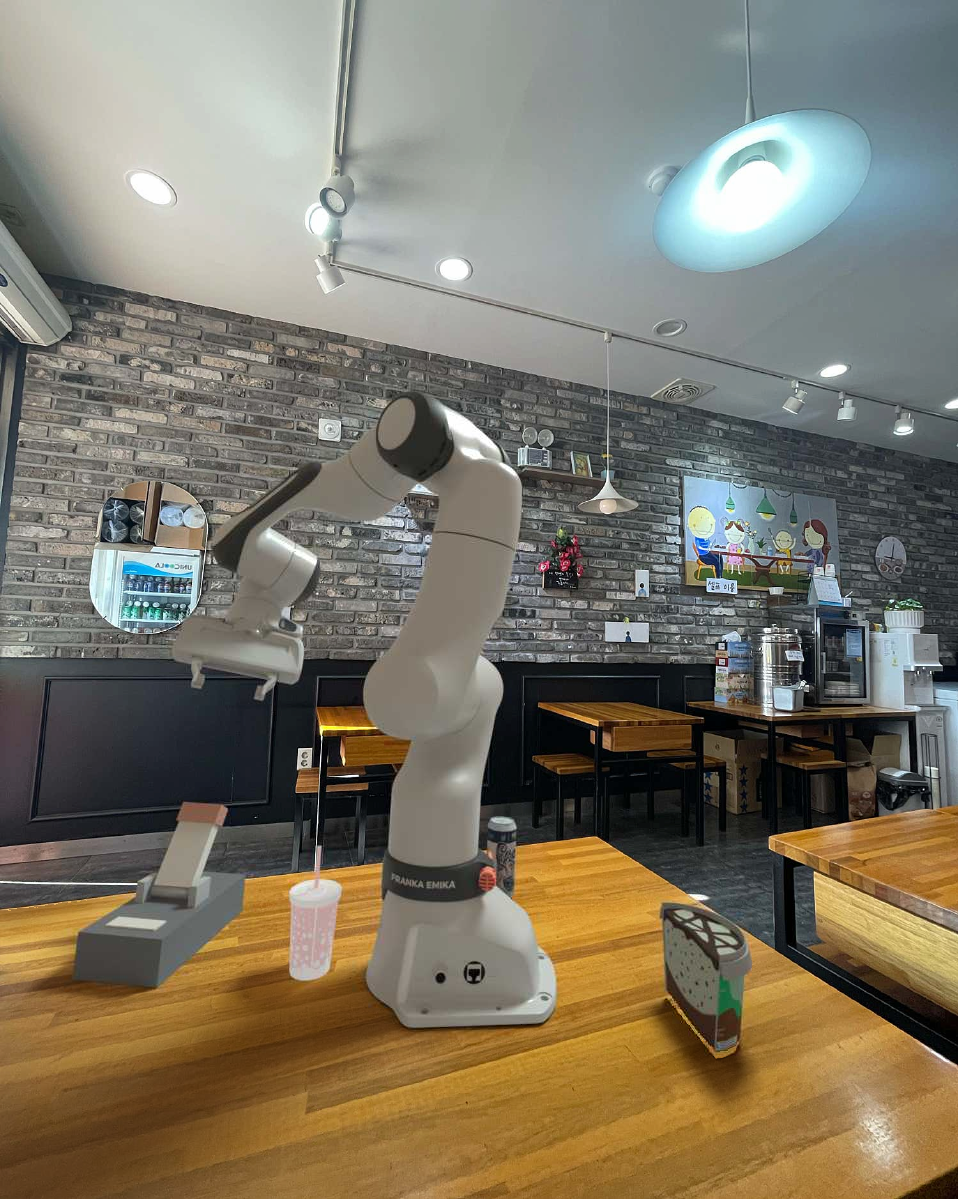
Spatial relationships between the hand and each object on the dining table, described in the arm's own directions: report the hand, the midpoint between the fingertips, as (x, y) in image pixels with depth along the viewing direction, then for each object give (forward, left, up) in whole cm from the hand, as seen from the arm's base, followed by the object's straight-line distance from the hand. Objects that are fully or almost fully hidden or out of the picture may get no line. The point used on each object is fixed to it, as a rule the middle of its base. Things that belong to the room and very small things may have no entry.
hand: (227, 692), depth 83 cm
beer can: (-45, -8, -31) cm, 55 cm away
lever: (-3, +12, -25) cm, 28 cm away
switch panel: (-3, +12, -31) cm, 33 cm away
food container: (-69, +18, -31) cm, 77 cm away
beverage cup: (-23, +15, -31) cm, 41 cm away
